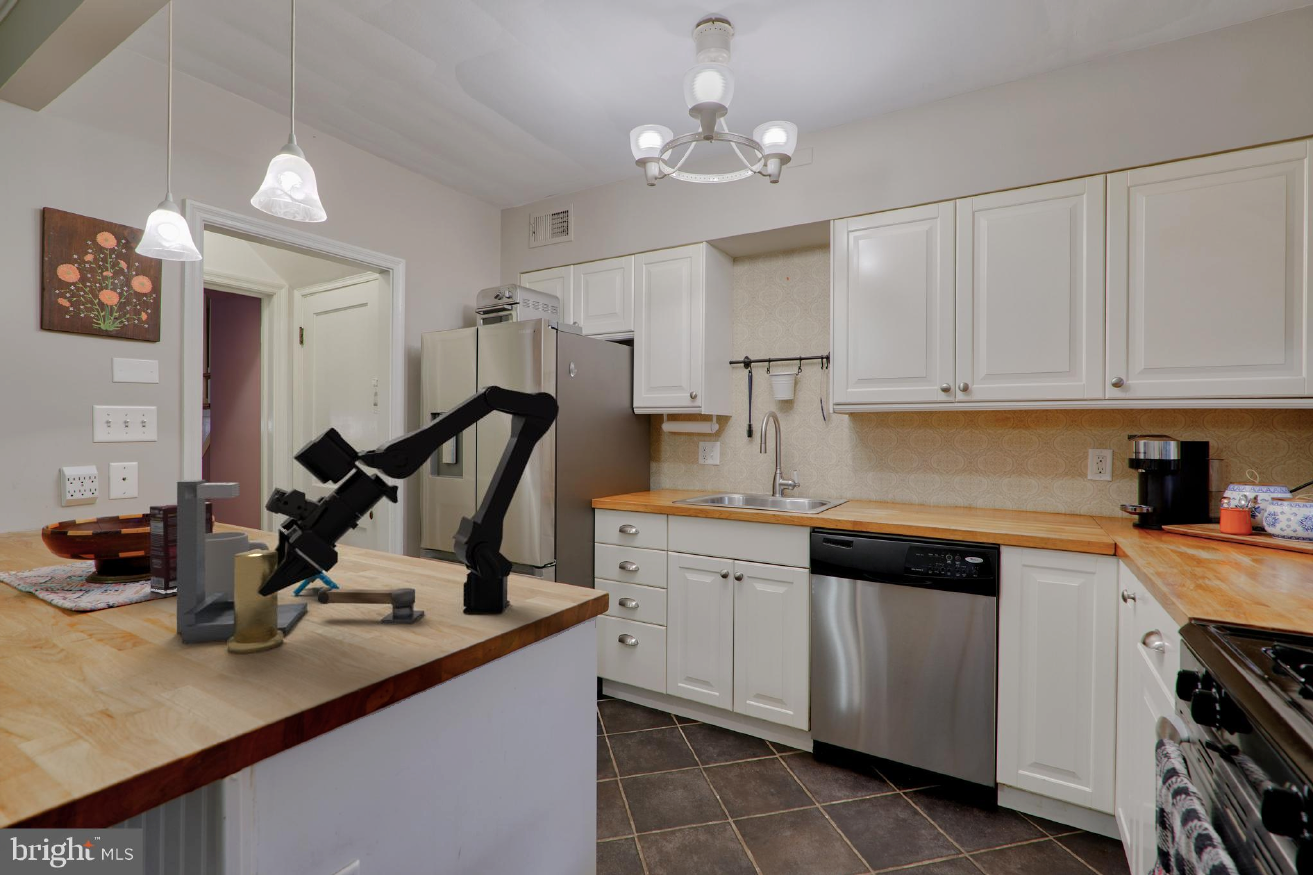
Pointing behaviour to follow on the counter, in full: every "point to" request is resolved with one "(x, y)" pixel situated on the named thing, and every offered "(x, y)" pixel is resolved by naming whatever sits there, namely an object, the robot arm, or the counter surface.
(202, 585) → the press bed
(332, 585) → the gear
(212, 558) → the mug
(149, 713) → the counter surface
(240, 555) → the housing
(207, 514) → the supplement box
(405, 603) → the lever
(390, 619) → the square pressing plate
